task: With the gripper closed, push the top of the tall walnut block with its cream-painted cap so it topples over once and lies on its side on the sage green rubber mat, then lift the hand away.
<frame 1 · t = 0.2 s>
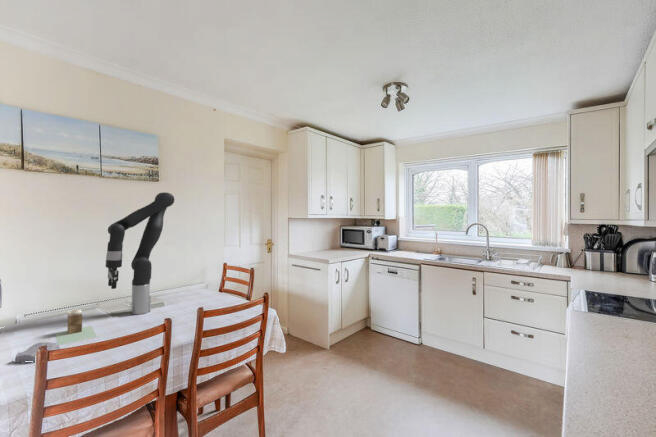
hand: (112, 287, 171), 18 cm above the table, tool pointing down, fingers open, 8 cm apart
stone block: (39, 357, 126), on the table
sage mat: (75, 336, 146), on the table
walnut block: (74, 331, 149), point 1 cm above the table, touching sage mat
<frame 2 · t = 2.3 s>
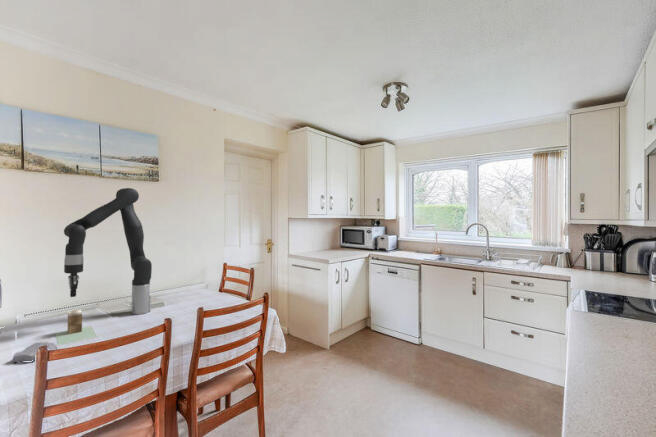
hand: (73, 296, 155), 17 cm above the table, tool pointing down, fingers closed
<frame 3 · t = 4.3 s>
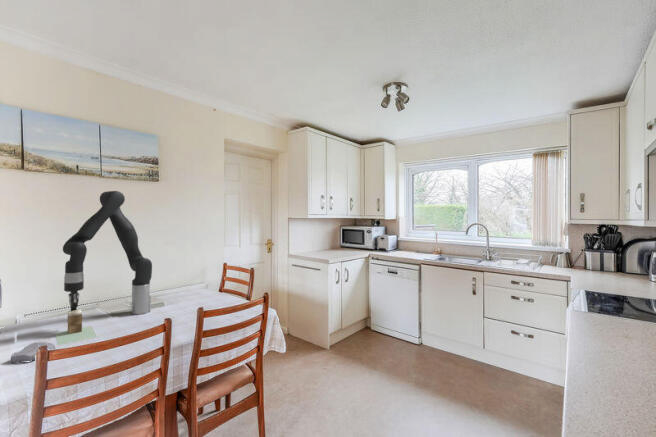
hand: (73, 314, 152), 8 cm above the table, tool pointing down, fingers closed
walnut block: (74, 331, 149), point 1 cm above the table, touching gripper, sage mat
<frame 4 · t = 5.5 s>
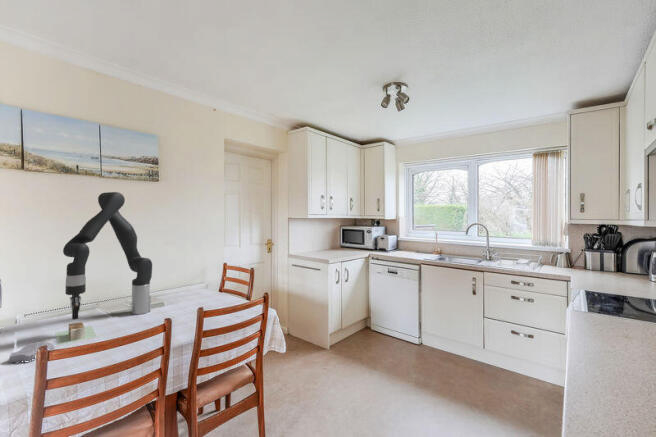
hand: (75, 318, 147), 8 cm above the table, tool pointing down, fingers closed
walnut block: (75, 328, 147), point 3 cm above the table, tilted 90°, touching sage mat
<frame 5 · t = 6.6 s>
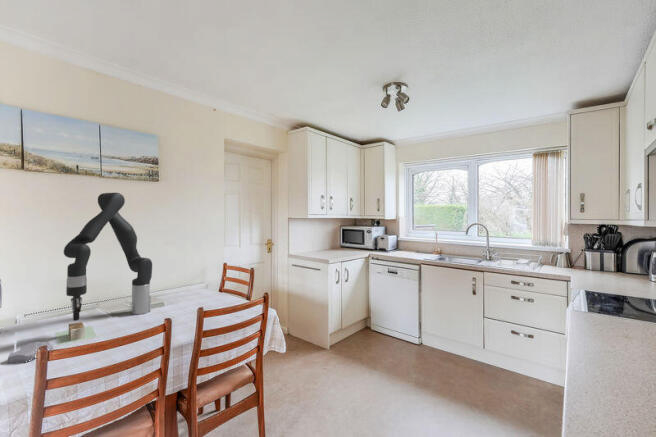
hand: (76, 320, 146), 8 cm above the table, tool pointing down, fingers closed
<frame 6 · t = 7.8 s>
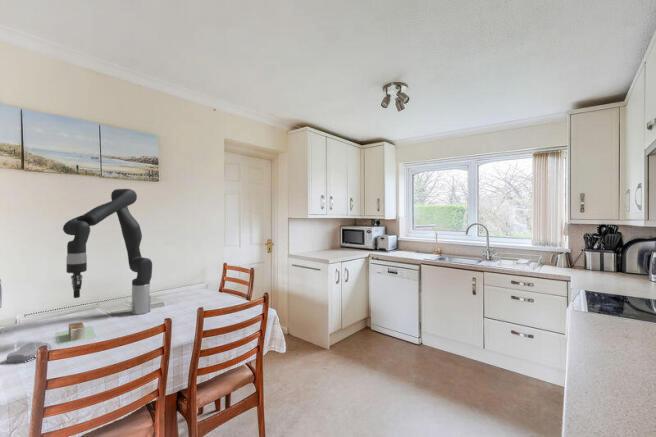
hand: (76, 297, 145), 19 cm above the table, tool pointing down, fingers closed
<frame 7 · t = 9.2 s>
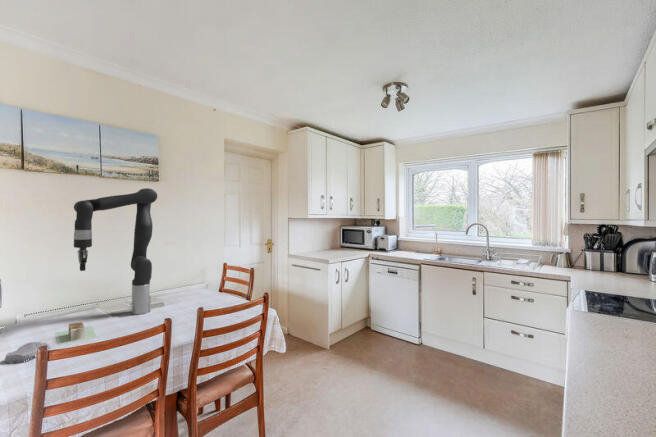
hand: (82, 270, 160), 29 cm above the table, tool pointing down, fingers closed
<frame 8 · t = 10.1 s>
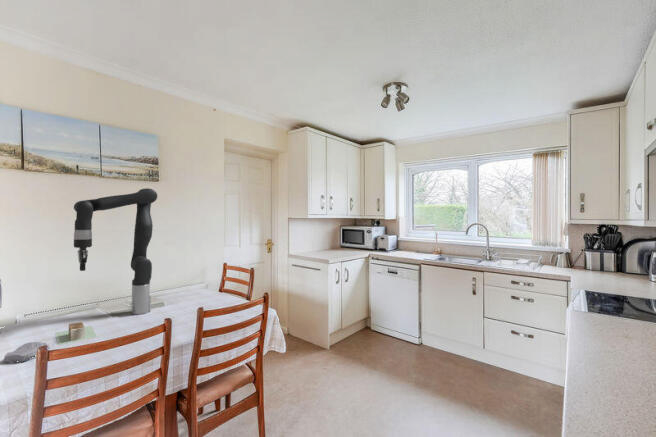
hand: (82, 270, 160), 29 cm above the table, tool pointing down, fingers closed
at the end: walnut block tilted 90°; walnut block inside the target area on the sage mat (3.5 cm from its centre), point 3.3 cm above the sage mat's base; walnut block touching sage mat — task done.
